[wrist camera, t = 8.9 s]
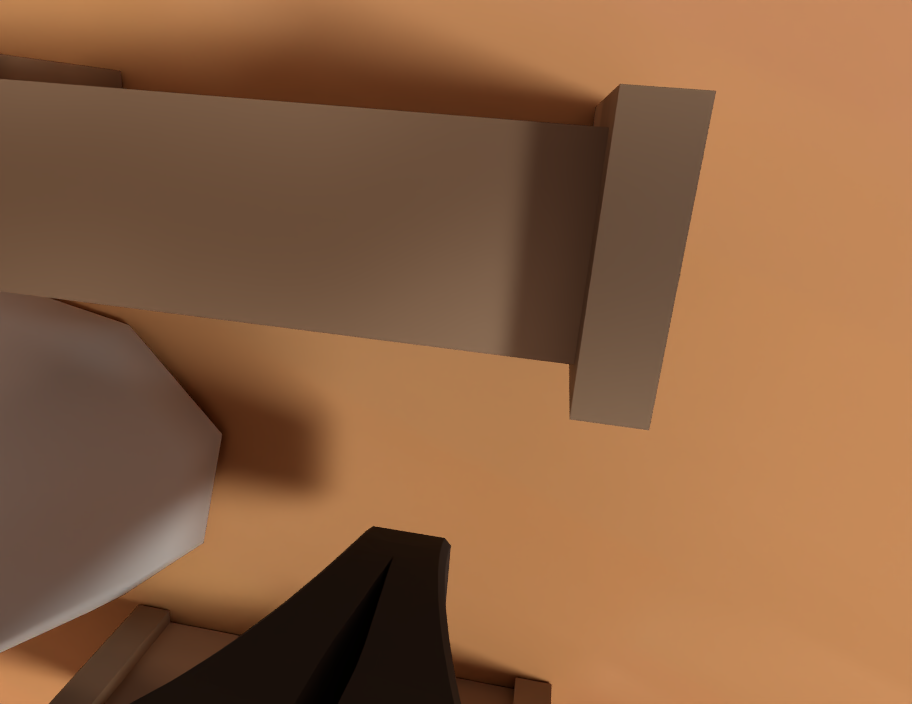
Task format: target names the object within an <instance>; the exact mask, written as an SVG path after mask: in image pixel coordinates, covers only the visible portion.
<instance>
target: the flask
mask: <svg viewBox="0 0 912 704" xmlns="http://www.w3.org/2000/svg"><path fill="white" fill-rule="evenodd" d="M221 438H222V433H221V432H220V431H219V430H218V429H217V428H216V426H215V425H214V424H213V423H212V422H211V421H210V419H209V418H208V417H207V416H206V415H205V414H204V412H203V411H202V410H201V409H200V408H199V406H198V405H197V404H196V403H195V402H194V401H193V399H192V398H191V397H190V396H189V395H188V394H187V392H186V391H185V390H184V389H183V388H182V387H181V385H180V384H179V383H178V382H177V381H176V379H175V378H174V377H173V376H172V375H171V374H170V372H169V371H168V370H167V369H166V368H165V367H164V365H163V364H162V363H161V362H160V361H159V360H158V358H157V357H156V356H155V355H154V354H153V352H152V351H151V350H150V349H149V348H148V347H147V345H146V344H145V343H144V342H143V341H142V340H141V338H140V337H139V336H138V335H137V334H136V333H135V331H134V330H133V329H132V328H131V327H130V325H127V324H124V323H121V322H118V321H116V320H113V319H110V318H107V317H104V316H101V315H98V314H95V313H92V312H89V311H86V310H83V309H80V308H77V307H74V306H71V305H68V304H65V303H63V302H60V301H57V300H54V299H51V298H48V297H40V296H32V295H24V294H17V293H9V292H1V291H0V653H1V652H3V651H5V650H7V649H10V648H12V647H14V646H16V645H18V644H20V643H23V642H25V641H27V640H29V639H31V638H33V637H36V636H38V635H40V634H42V633H44V632H47V631H49V630H51V629H53V628H55V627H57V626H60V625H62V624H64V623H66V622H68V621H70V620H73V619H75V618H77V617H79V616H81V615H84V614H86V613H88V612H90V611H92V610H94V609H96V608H98V607H100V606H102V605H104V604H106V603H108V602H110V601H112V600H114V599H116V598H118V597H120V596H122V595H124V594H126V593H127V592H129V591H130V590H132V589H133V588H135V587H136V586H138V585H139V584H141V583H142V582H144V581H145V580H147V579H149V578H150V577H152V576H153V575H155V574H156V573H158V572H159V571H161V570H162V569H164V568H165V567H167V566H168V565H170V564H172V563H173V562H175V561H176V560H178V559H179V558H181V557H182V556H184V555H185V554H187V553H188V552H190V551H192V550H193V549H195V548H196V547H198V546H199V545H201V544H202V543H204V537H205V531H206V525H207V519H208V514H209V508H210V502H211V496H212V491H213V485H214V479H215V473H216V467H217V462H218V456H219V450H220V444H221Z"/></svg>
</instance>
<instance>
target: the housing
mask: <svg viewBox="0 0 912 704" xmlns="http://www.w3.org/2000/svg"><path fill="white" fill-rule="evenodd" d="M715 94H716V91H711V90H697V89H683V88H669V87H655V86H641V85H627V84H620V85H619V86H617V87H616V88H615V89H614V90H613V91H612V92H611V93H610V94H609V95H608V96H607V97H606V98H605V99H604V100H603V101H602V102H601V103H599V104H598V105H597V106H596V108H595V115H594V122H593V126H583V125H571V124H558V123H546V122H533V121H521V120H508V119H496V118H483V117H471V116H458V115H446V114H433V113H421V112H408V111H396V110H383V109H371V108H358V107H346V106H333V105H321V104H308V103H296V102H283V101H271V100H258V99H246V98H233V97H221V96H208V95H196V94H183V93H170V92H158V91H145V90H133V89H122V79H121V71H117V70H110V69H103V68H96V67H89V66H81V65H74V64H67V63H60V62H53V61H46V60H39V59H31V58H24V57H17V56H10V55H3V54H0V291H1V292H9V293H17V294H24V295H32V296H40V297H48V298H56V299H64V300H71V301H79V302H87V303H95V304H103V305H111V306H118V307H126V308H134V309H142V310H150V311H157V312H165V313H173V314H181V315H189V316H197V317H204V318H212V319H220V320H228V321H236V322H244V323H251V324H259V325H267V326H275V327H283V328H291V329H298V330H306V331H314V332H322V333H330V334H338V335H345V336H353V337H361V338H369V339H377V340H385V341H392V342H400V343H408V344H416V345H424V346H432V347H439V348H447V349H455V350H463V351H471V352H478V353H486V354H494V355H502V356H510V357H518V358H525V359H533V360H541V361H549V362H557V363H565V364H569V395H570V419H571V420H579V421H586V422H593V423H600V424H607V425H615V426H622V427H629V428H636V429H643V430H649V428H650V423H651V418H652V413H653V408H654V403H655V398H656V393H657V388H658V382H659V377H660V372H661V367H662V362H663V357H664V352H665V347H666V342H667V337H668V332H669V327H670V322H671V317H672V312H673V306H674V301H675V296H676V291H677V286H678V281H679V276H680V271H681V266H682V261H683V256H684V251H685V246H686V241H687V236H688V230H689V225H690V220H691V215H692V210H693V205H694V200H695V195H696V190H697V185H698V180H699V175H700V170H701V165H702V160H703V154H704V149H705V144H706V139H707V134H708V129H709V124H710V119H711V114H712V109H713V104H714V99H715ZM238 637H239V636H238V635H233V634H228V633H223V632H218V631H213V630H208V629H202V628H197V627H192V626H187V625H182V624H177V623H172V622H170V612H169V611H168V610H163V609H158V608H153V607H148V606H142V605H138V606H137V607H136V609H135V610H134V611H133V612H132V613H131V614H130V615H129V616H128V617H127V618H126V620H125V621H124V622H123V623H122V624H121V625H120V626H119V627H118V628H117V629H116V630H115V632H114V633H113V634H112V635H111V636H110V637H109V638H108V639H107V640H106V641H105V643H104V644H103V645H102V646H101V647H100V648H99V649H98V650H97V651H96V652H95V654H94V655H93V656H92V657H91V658H90V659H89V660H88V661H87V662H86V663H85V665H84V666H83V667H82V668H81V669H80V670H79V671H78V672H77V673H76V674H75V676H74V677H73V678H72V679H71V680H70V681H69V682H68V683H67V684H66V685H65V687H64V688H63V689H62V690H61V691H60V692H59V693H58V694H57V695H56V696H55V698H54V699H53V700H52V701H51V702H50V703H49V704H130V703H132V702H133V701H135V700H137V699H139V698H141V697H143V696H144V695H146V694H148V693H150V692H152V691H154V690H155V689H157V688H159V687H161V686H163V685H165V684H166V683H168V682H170V681H172V680H173V679H175V678H177V677H178V676H180V675H182V674H183V673H185V672H186V671H188V670H190V669H191V668H193V667H194V666H196V665H198V664H199V663H201V662H202V661H204V660H205V659H207V658H209V657H210V656H212V655H213V654H215V653H216V652H218V651H219V650H221V649H222V648H223V647H225V646H226V645H228V644H229V643H231V642H232V641H234V640H235V639H236V638H238ZM456 682H457V687H458V692H459V696H460V701H461V704H551V684H548V683H543V682H538V681H533V680H527V679H522V678H517V677H516V679H515V686H514V689H511V688H505V687H500V686H495V685H490V684H485V683H480V682H475V681H470V680H464V679H459V678H456Z"/></svg>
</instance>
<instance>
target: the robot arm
mask: <svg viewBox="0 0 912 704" xmlns="http://www.w3.org/2000/svg"><path fill="white" fill-rule="evenodd" d="M450 548H451V545H450V544H449V543H448V541H447V540H446V539H445V538H441V537H435V536H429V535H423V534H417V533H411V532H405V531H399V530H393V529H387V528H381V527H375V526H373V527H371V528H370V529H368V530H367V531H366V532H365V533H364V534H362V535H361V536H360V537H359V538H358V539H357V540H356V541H355V542H354V543H353V544H352V545H351V546H349V547H348V548H347V549H346V550H345V551H344V552H343V553H342V554H341V555H340V556H338V557H337V558H336V559H335V560H334V561H333V562H332V563H331V564H329V565H328V566H327V567H326V568H325V569H324V570H323V571H322V572H320V573H319V574H318V575H317V576H316V577H314V578H313V579H312V580H311V581H310V582H308V583H307V584H306V585H305V586H304V587H303V588H301V589H300V590H299V591H298V592H297V593H295V594H294V595H293V596H292V597H291V598H289V599H288V600H287V601H286V602H284V603H283V604H282V605H281V606H279V607H278V608H277V609H275V610H274V611H273V612H271V613H270V614H269V615H267V616H266V617H265V618H263V619H262V620H261V621H259V622H258V623H257V624H255V625H254V626H253V627H251V628H250V629H249V630H247V631H246V632H245V633H243V634H242V635H241V636H239V637H238V638H236V639H235V640H234V641H232V642H231V643H229V644H228V645H226V646H225V647H223V648H222V649H221V650H219V651H218V652H216V653H215V654H213V655H212V656H210V657H209V658H207V659H205V660H204V661H202V662H201V663H199V664H198V665H196V666H194V667H193V668H191V669H190V670H188V671H186V672H185V673H183V674H182V675H180V676H178V677H177V678H175V679H173V680H172V681H170V682H168V683H166V684H165V685H163V686H161V687H159V688H157V689H155V690H154V691H152V692H150V693H148V694H146V695H144V696H143V697H141V698H139V699H137V700H135V701H133V702H132V703H130V704H461V701H460V696H459V692H458V687H457V682H456V677H455V671H454V666H453V661H452V655H451V648H450V642H449V634H448V624H447V615H446V594H447V582H448V571H449V559H450Z"/></svg>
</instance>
